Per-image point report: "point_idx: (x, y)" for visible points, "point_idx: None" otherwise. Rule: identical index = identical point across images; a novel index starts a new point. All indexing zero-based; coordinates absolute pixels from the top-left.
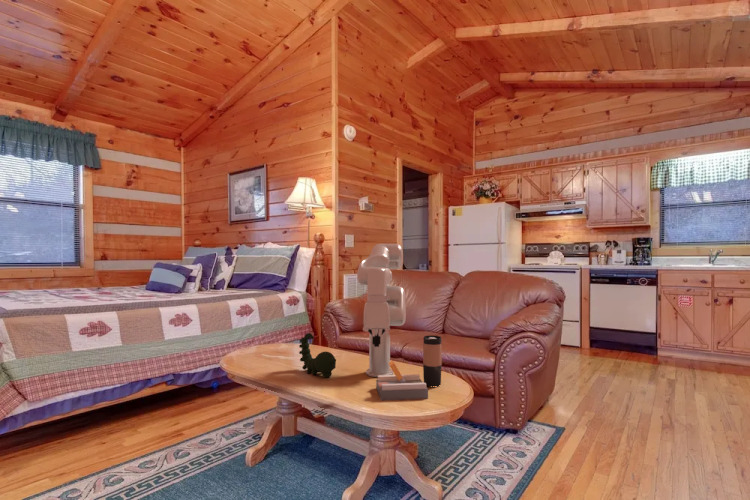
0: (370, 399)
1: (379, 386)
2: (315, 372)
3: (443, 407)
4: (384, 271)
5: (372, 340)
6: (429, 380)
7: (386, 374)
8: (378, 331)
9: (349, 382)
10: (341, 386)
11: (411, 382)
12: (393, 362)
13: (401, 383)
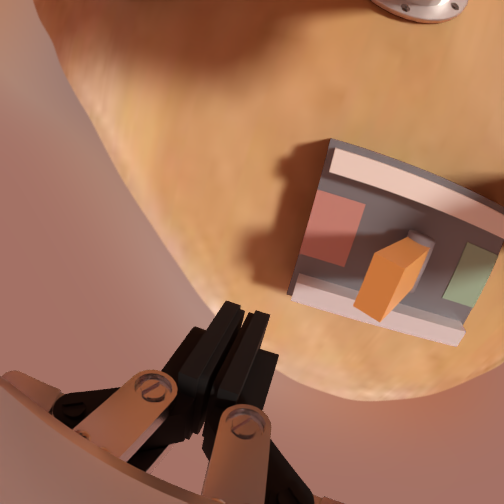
0: (258, 253)
1: (301, 246)
2: None
3: (426, 384)
4: None
5: (181, 344)
6: None
7: (430, 18)
8: (218, 460)
9: (238, 30)
10: (192, 72)
11: (458, 251)
12: (385, 307)
13: None
